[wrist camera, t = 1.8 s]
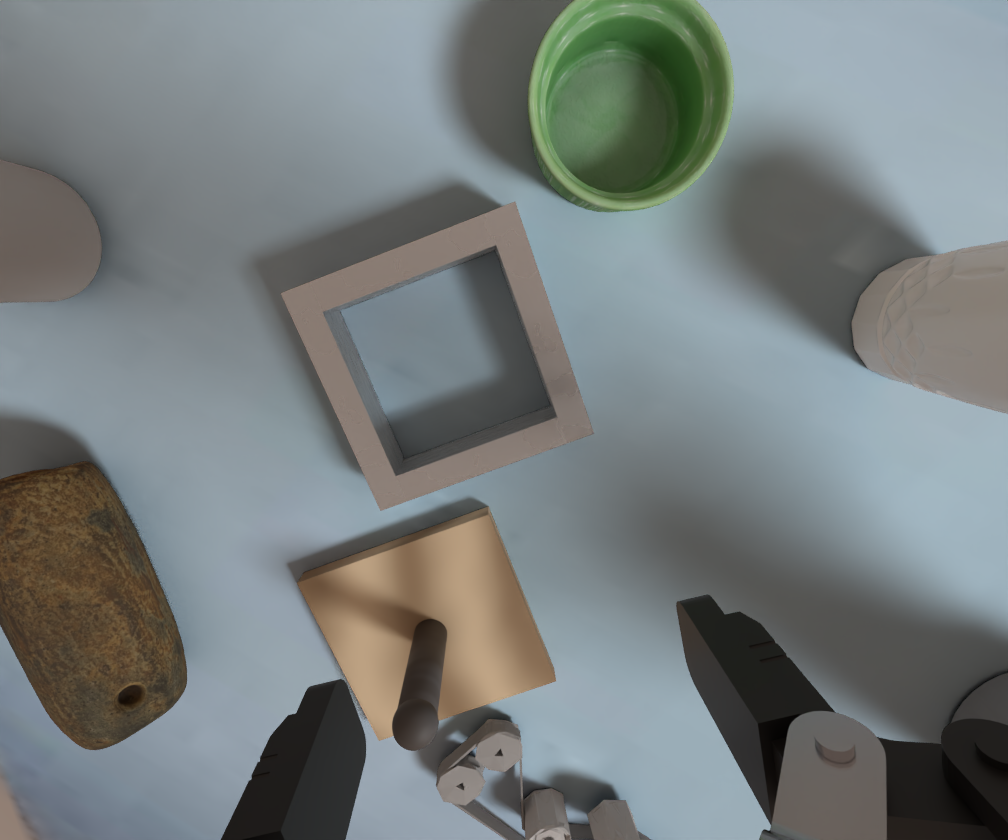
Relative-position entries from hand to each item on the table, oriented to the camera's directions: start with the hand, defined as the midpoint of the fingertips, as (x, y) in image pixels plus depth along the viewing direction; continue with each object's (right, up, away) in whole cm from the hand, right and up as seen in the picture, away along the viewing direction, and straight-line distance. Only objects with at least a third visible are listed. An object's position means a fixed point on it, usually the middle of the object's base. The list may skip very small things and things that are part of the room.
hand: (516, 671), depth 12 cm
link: (-3, +9, +17) cm, 19 cm away
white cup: (+22, +12, +17) cm, 31 cm away
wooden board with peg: (-5, -7, +20) cm, 22 cm away
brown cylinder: (-23, -3, +19) cm, 30 cm away
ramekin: (+5, +21, +15) cm, 26 cm away
